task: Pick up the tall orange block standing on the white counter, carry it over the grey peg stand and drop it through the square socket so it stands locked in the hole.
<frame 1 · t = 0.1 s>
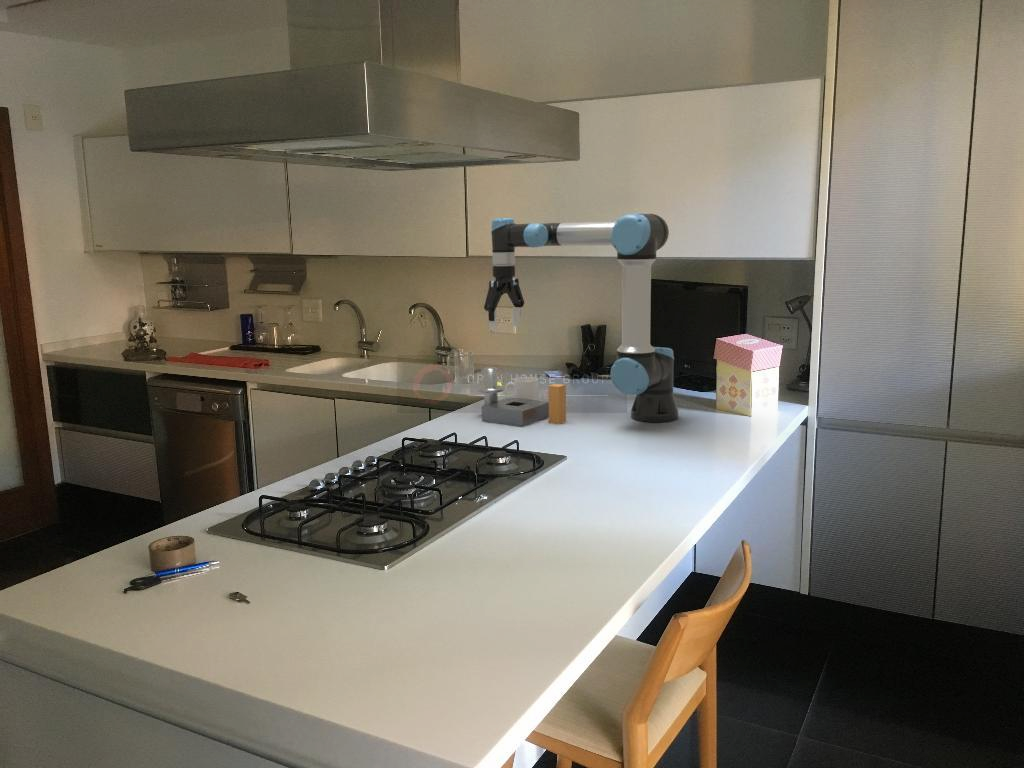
hand: (505, 328, 282), 28 cm above the worktop, fingers open, 13 cm apart
grey peg stand: (516, 418, 272), on the worktop
cup: (521, 408, 289), on the worktop
tall orange block: (557, 422, 267), on the worktop
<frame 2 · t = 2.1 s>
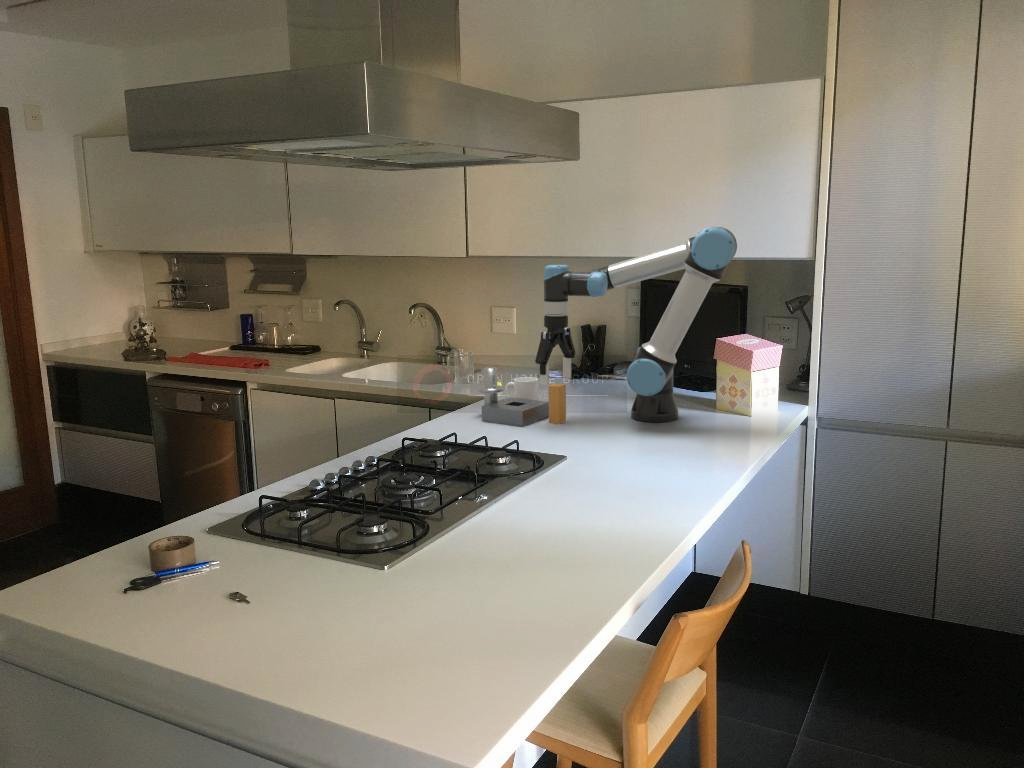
hand: (555, 381, 265), 13 cm above the worktop, fingers open, 13 cm apart
nothing on the worktop moved.
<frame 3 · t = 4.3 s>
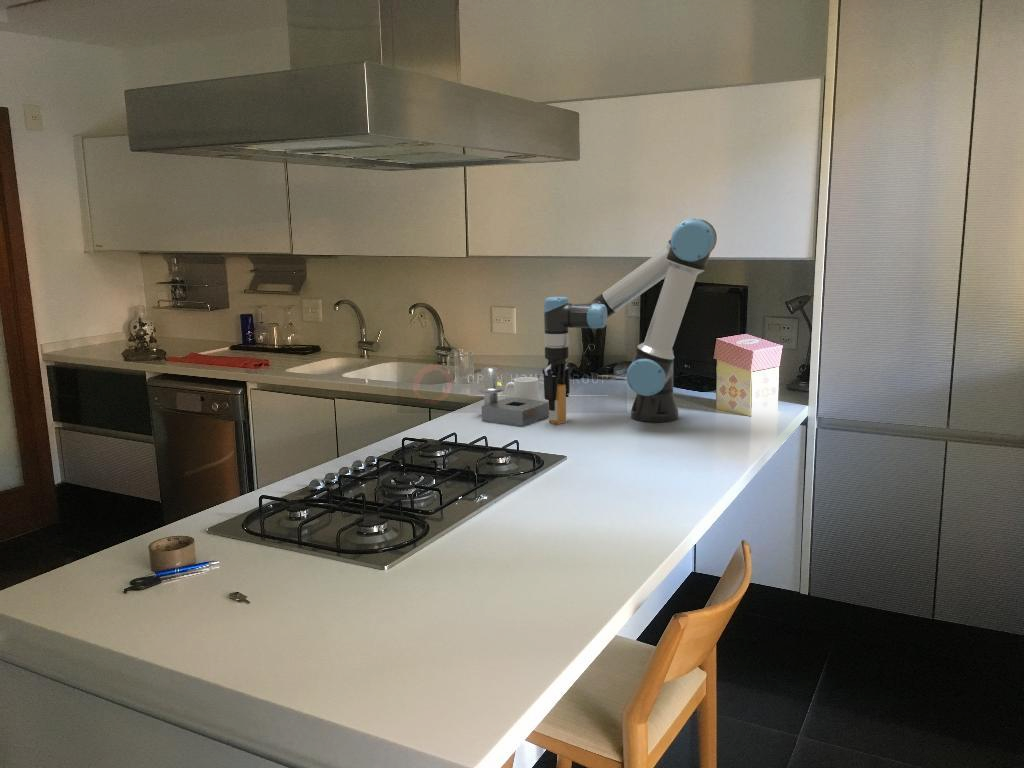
hand: (557, 418, 267), 1 cm above the worktop, fingers closed on tall orange block, 4 cm apart
tall orange block: (557, 421, 267), on the worktop, touching gripper
everything else where it was.
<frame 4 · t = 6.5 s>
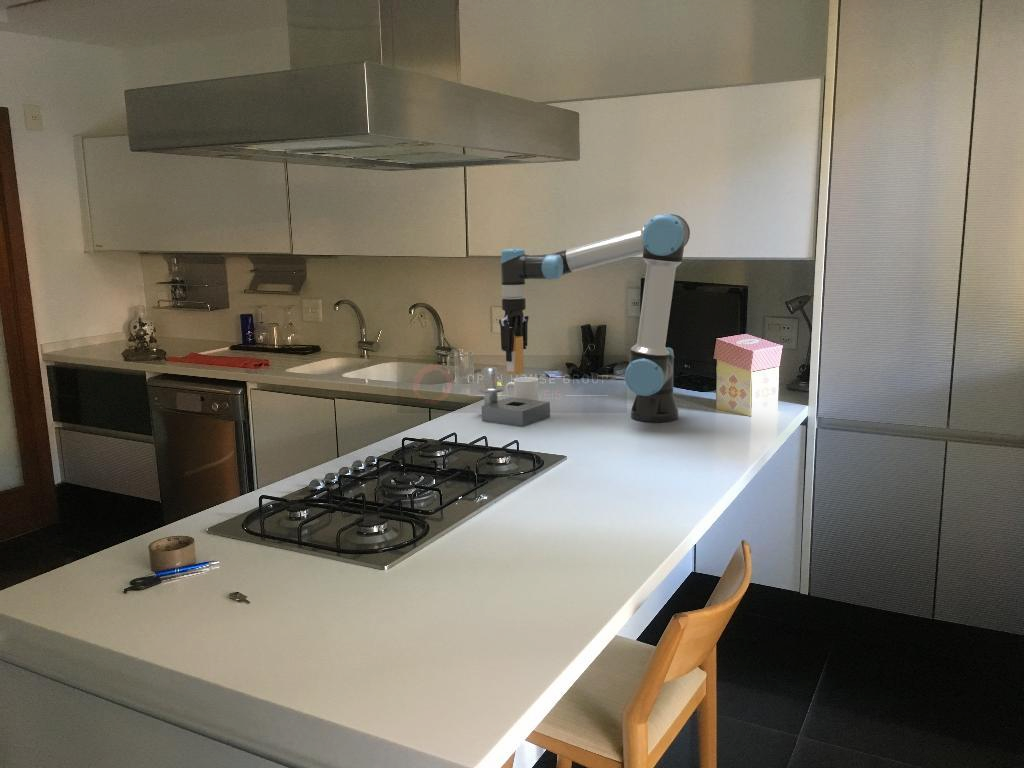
hand: (515, 370, 269), 16 cm above the worktop, fingers closed on tall orange block, 4 cm apart
tall orange block: (515, 373, 270), point 15 cm above the worktop, touching gripper
everything else where it was.
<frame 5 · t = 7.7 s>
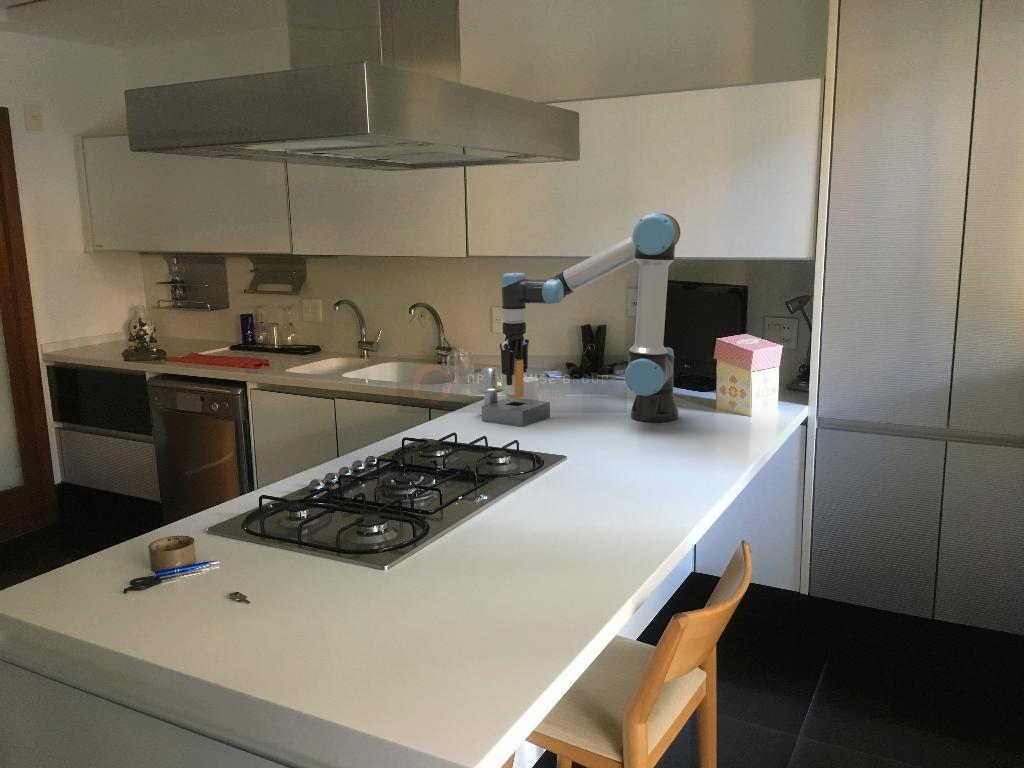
hand: (515, 393, 271), 9 cm above the worktop, fingers closed on tall orange block, 4 cm apart
tall orange block: (515, 396, 271), point 7 cm above the worktop, touching gripper
everything else where it was.
when the fingers open (7 cm above the worktop, at t = 8.7 s): tall orange block drops 5 cm, resting in grey peg stand.
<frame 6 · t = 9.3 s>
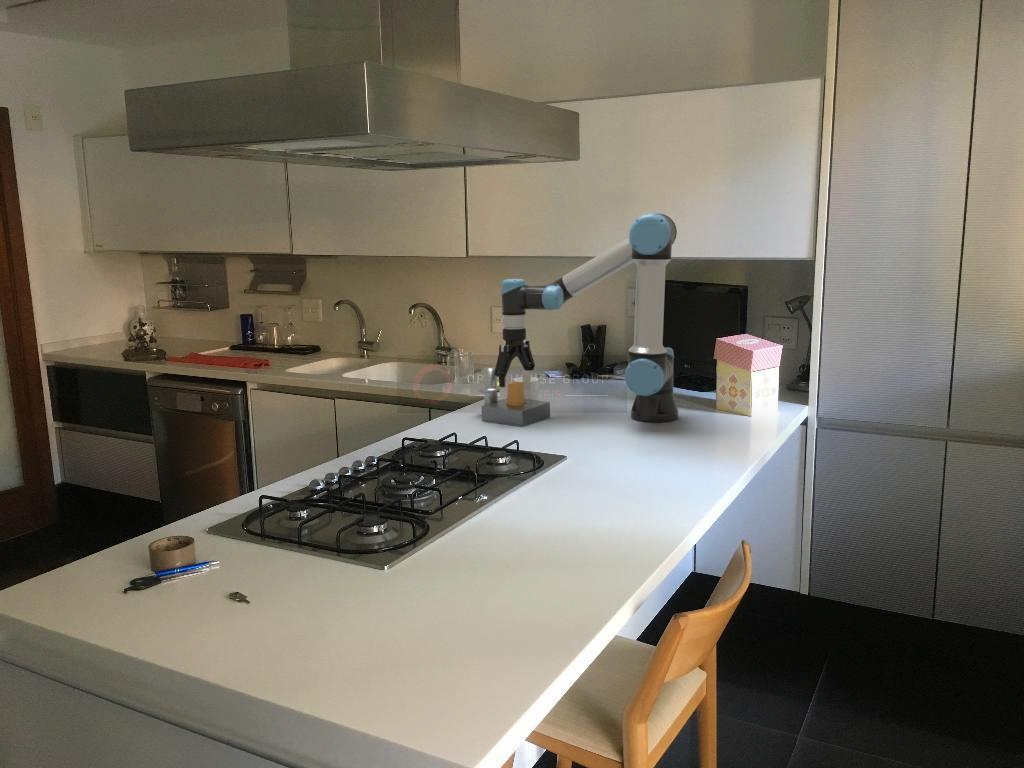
hand: (515, 393, 271), 9 cm above the worktop, fingers open, 12 cm apart
tall orange block: (516, 418, 273), resting in grey peg stand
everything else where it was.
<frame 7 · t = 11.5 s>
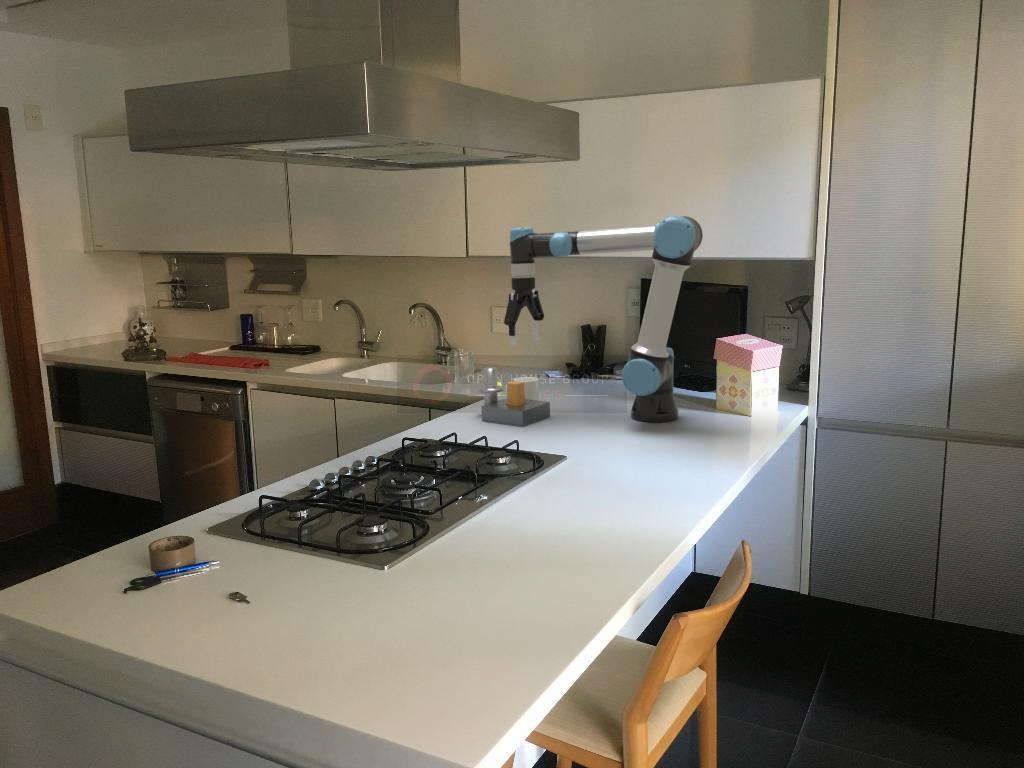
hand: (525, 343, 269), 25 cm above the worktop, fingers open, 13 cm apart
nothing on the worktop moved.
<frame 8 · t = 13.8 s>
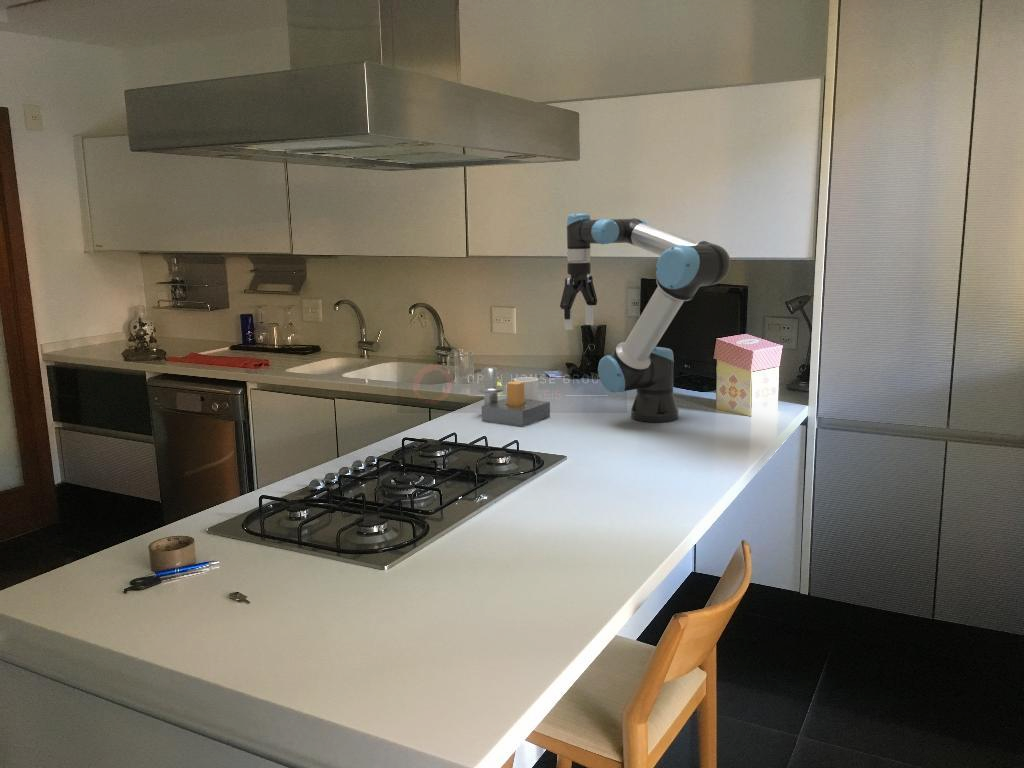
hand: (579, 327, 275), 29 cm above the worktop, fingers open, 13 cm apart
nothing on the worktop moved.
at the end: tall orange block 0.1 cm off-centre on the grey peg stand, point 0.0 cm above the grey peg stand's base; tall orange block tilted 0°; the gripper is holding nothing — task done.
